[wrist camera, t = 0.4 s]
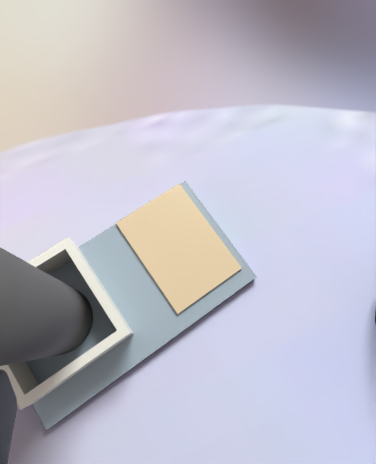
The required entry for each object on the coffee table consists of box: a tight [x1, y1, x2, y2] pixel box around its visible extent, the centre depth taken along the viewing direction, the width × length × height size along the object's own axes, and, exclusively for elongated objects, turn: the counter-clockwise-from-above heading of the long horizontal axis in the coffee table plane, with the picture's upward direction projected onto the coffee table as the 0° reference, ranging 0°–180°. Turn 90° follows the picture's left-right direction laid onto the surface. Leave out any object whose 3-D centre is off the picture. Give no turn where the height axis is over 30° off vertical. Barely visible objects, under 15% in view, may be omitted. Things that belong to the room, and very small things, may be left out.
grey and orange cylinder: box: [0, 248, 93, 366], centre depth 15 cm, size 4×4×13 cm
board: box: [0, 181, 256, 431], centre depth 21 cm, size 8×15×3 cm, turn 125°
